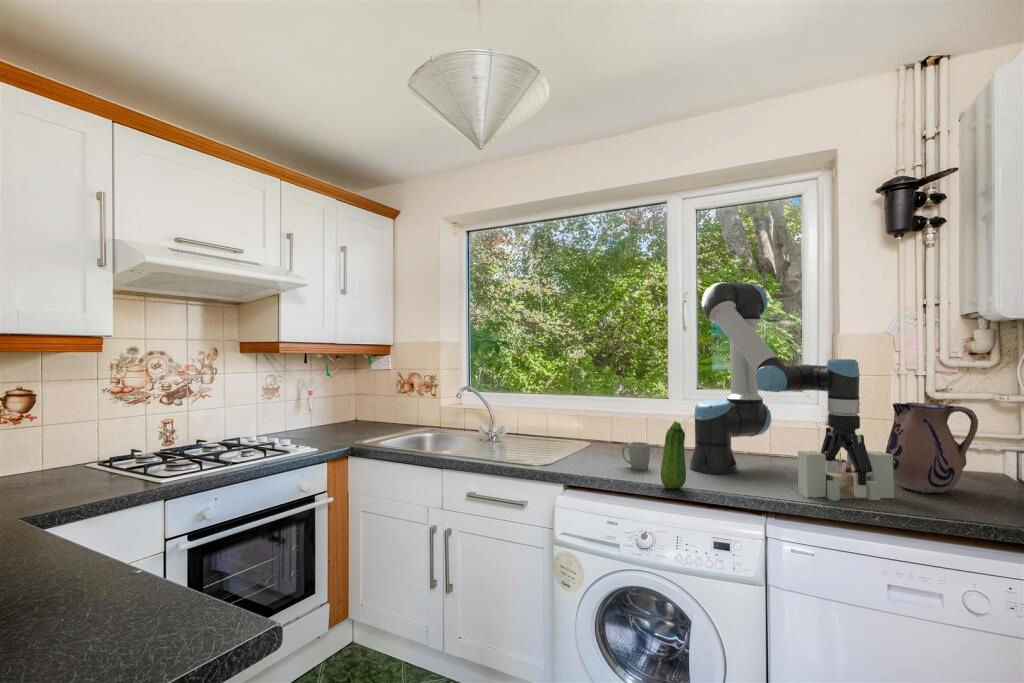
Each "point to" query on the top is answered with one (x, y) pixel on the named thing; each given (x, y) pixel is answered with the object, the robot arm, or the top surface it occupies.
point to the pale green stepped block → (815, 476)
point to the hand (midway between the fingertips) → (844, 489)
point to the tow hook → (848, 465)
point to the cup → (638, 455)
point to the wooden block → (844, 483)
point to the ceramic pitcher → (927, 446)
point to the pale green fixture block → (880, 476)
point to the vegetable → (674, 458)
